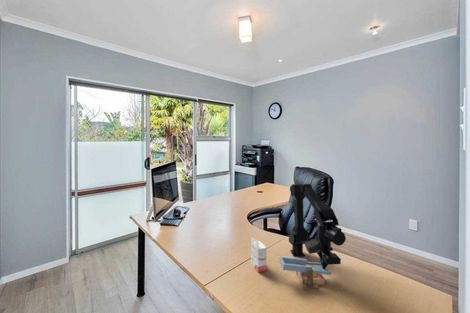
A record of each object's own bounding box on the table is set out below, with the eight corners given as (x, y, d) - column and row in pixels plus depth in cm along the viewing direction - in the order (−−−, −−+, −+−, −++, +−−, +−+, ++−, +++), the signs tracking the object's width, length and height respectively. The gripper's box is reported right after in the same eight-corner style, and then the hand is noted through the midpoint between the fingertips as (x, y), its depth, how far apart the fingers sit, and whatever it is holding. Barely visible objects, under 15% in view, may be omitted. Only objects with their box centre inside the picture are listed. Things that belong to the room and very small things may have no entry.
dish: (317, 275, 106) (317, 269, 105) (324, 284, 98) (324, 278, 98) (297, 275, 105) (297, 270, 105) (302, 285, 98) (302, 279, 98)
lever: (323, 266, 106) (324, 260, 105) (331, 275, 98) (332, 269, 98) (278, 261, 104) (279, 256, 104) (283, 270, 97) (284, 264, 97)
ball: (307, 272, 103) (313, 267, 103) (311, 278, 104) (317, 273, 104) (310, 276, 100) (316, 272, 100) (314, 282, 100) (320, 278, 100)
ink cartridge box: (267, 270, 110) (267, 241, 108) (258, 273, 108) (258, 243, 107) (259, 261, 118) (259, 234, 116) (250, 263, 116) (250, 236, 115)
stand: (308, 272, 108) (308, 257, 107) (318, 288, 96) (318, 271, 96) (295, 273, 107) (296, 257, 107) (304, 289, 96) (304, 271, 95)
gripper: (299, 227, 110) (299, 258, 111) (315, 245, 91) (314, 282, 92) (322, 227, 110) (321, 257, 111) (341, 244, 92) (341, 281, 93)
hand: (323, 268), depth 102 cm, fingers closed, pressing on lever
